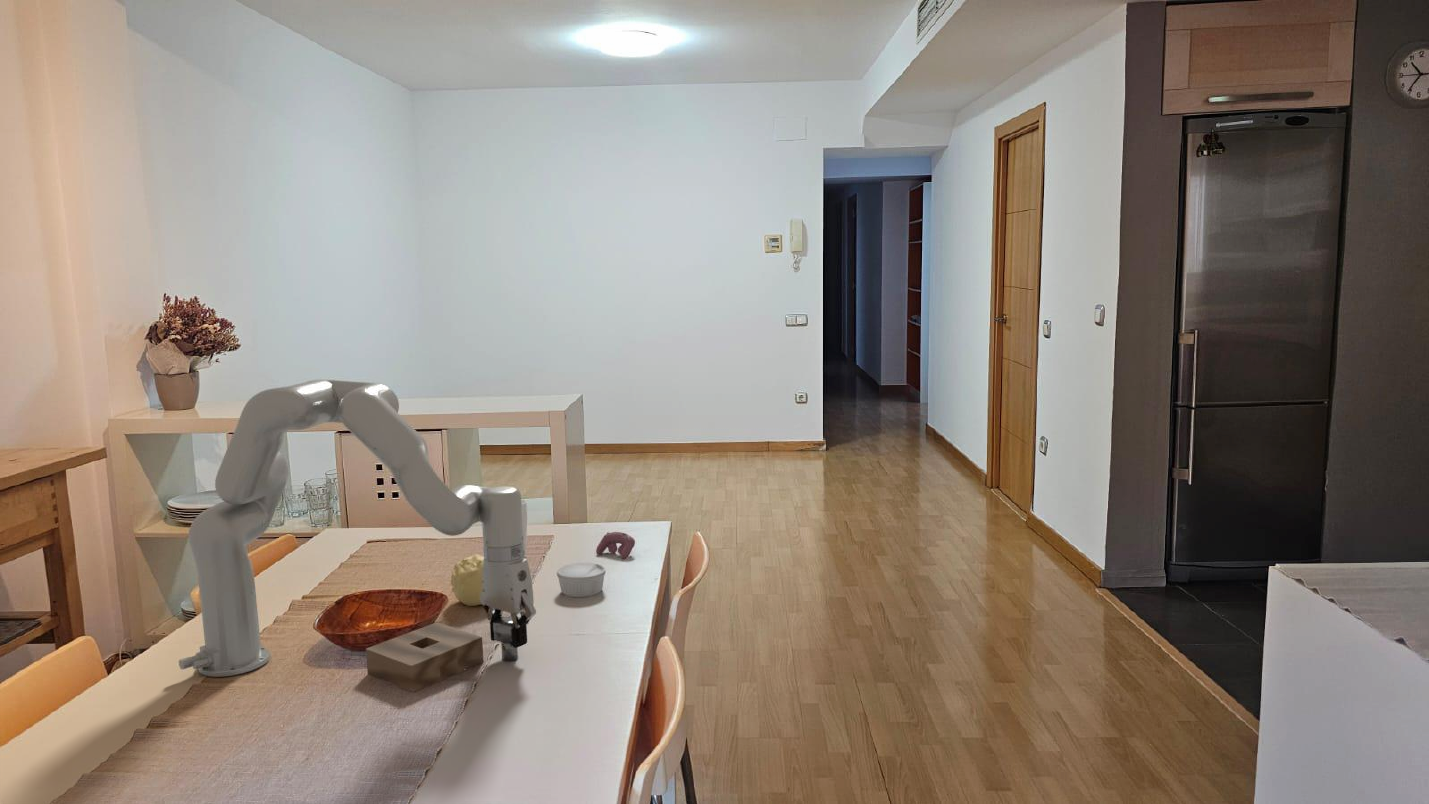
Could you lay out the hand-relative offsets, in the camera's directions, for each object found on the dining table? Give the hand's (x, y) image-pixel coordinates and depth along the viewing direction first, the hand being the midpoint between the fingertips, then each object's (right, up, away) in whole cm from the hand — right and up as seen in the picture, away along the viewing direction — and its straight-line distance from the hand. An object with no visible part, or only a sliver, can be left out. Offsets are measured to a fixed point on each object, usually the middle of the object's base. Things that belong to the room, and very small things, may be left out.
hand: (509, 641), depth 184 cm
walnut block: (-15, -4, -3) cm, 16 cm away
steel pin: (0, -4, 0) cm, 4 cm away
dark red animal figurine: (+14, +6, +66) cm, 68 cm away
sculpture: (-14, +1, +33) cm, 36 cm away
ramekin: (+9, +2, +39) cm, 40 cm away
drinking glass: (-12, +5, +65) cm, 67 cm away
